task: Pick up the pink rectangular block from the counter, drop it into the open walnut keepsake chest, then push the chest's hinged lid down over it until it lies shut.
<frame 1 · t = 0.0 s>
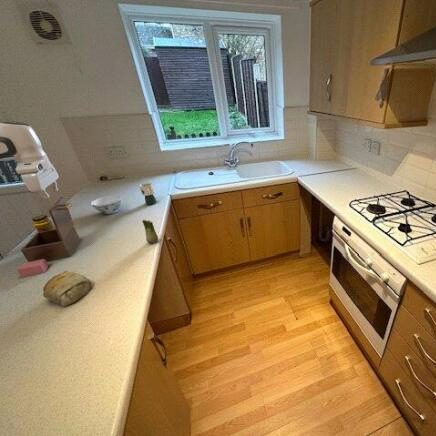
hand: (51, 194, 105), 25 cm above the worktop, tool pointing down, fingers open, 8 cm apart
chinaware: (111, 212, 147), on the worktop
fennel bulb: (153, 242, 116), on the worktop
pink rectangular block: (35, 271, 98), on the worktop
chest lid: (67, 217, 106), point 15 cm above the worktop, hinge at 95.0°
character mug: (151, 203, 158), on the worktop
chest: (57, 251, 110), on the worktop
condiment: (52, 237, 121), on the worktop
pastry: (70, 294, 87), on the worktop
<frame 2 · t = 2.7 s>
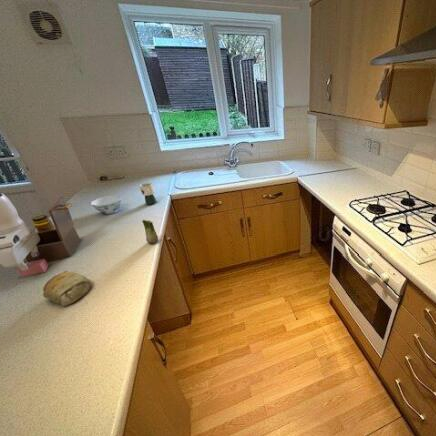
hand: (31, 262, 96), 4 cm above the worktop, tool pointing down, fingers open, 8 cm apart
nothing on the worktop moved.
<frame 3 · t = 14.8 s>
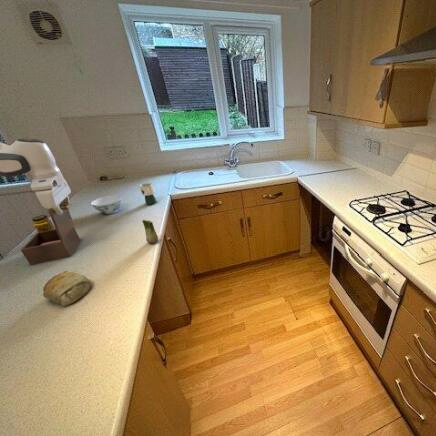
hand: (64, 209, 105), 19 cm above the worktop, tool pointing down, fingers open, 8 cm apart
pink rectangular block: (53, 250, 109), point 1 cm above the worktop, touching chest
chest lid: (67, 217, 106), point 15 cm above the worktop, hinge at 94.7°, touching gripper
everything else where it was.
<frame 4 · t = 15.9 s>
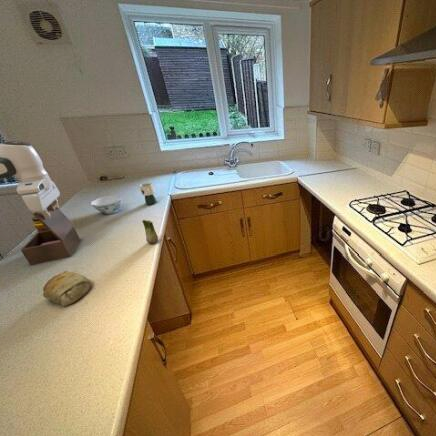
hand: (52, 213, 103), 19 cm above the worktop, tool pointing down
chest lid: (59, 218, 105), point 16 cm above the worktop, hinge at 74.4°, touching gripper
everything else where it was.
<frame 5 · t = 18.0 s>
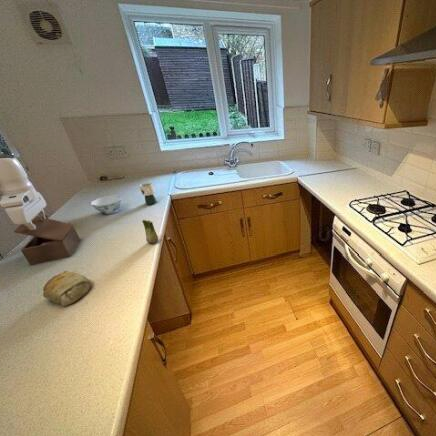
hand: (38, 224, 103), 14 cm above the worktop, tool pointing down, fingers open, 8 cm apart
chest lid: (47, 224, 104), point 14 cm above the worktop, hinge at 33.2°, touching gripper
everything else where it was.
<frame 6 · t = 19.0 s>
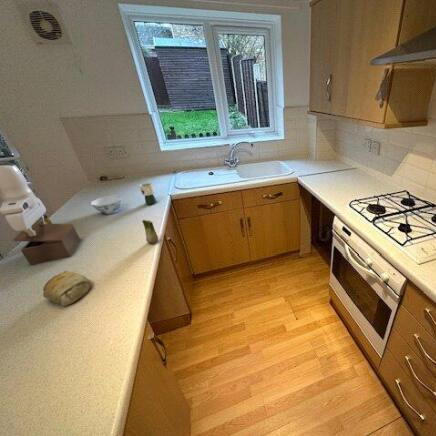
hand: (38, 230, 104), 12 cm above the worktop, tool pointing down, fingers open, 8 cm apart
chest lid: (45, 228, 105), point 12 cm above the worktop, hinge at 17.5°, touching gripper
everything else where it was.
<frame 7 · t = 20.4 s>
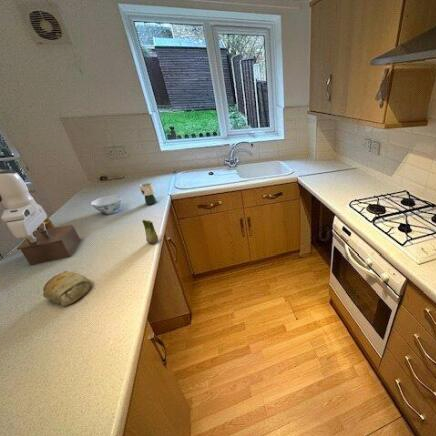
hand: (39, 236, 105), 9 cm above the worktop, tool pointing down
chest lid: (45, 232, 105), point 10 cm above the worktop, hinge at 0.8°, touching gripper
everything else where it was.
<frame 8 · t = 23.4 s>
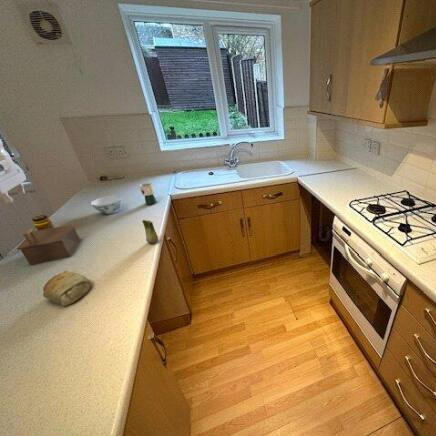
hand: (16, 198, 96), 27 cm above the worktop, tool pointing down, fingers open, 8 cm apart
chest lid: (45, 232, 105), point 10 cm above the worktop, hinge at 0.8°
everything else where it was.
at the end: pink rectangular block inside the target area in the chest (1.0 cm from its centre), point 0.8 cm above the chest's base; chest lid at +1° (first picture: +95°) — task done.
